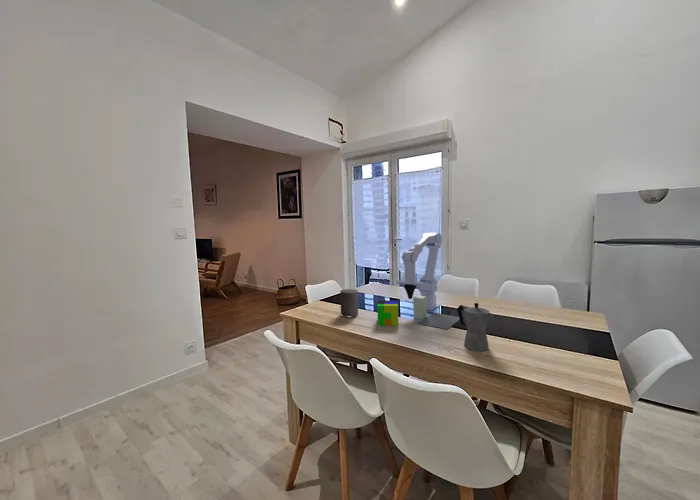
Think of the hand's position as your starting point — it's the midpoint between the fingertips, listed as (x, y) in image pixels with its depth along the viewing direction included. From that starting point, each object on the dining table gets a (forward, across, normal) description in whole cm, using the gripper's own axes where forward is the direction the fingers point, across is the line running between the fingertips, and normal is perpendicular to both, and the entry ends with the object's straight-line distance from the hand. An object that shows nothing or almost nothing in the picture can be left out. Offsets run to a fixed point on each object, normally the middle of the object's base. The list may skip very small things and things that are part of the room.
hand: (410, 298), depth 163 cm
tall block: (+9, +6, 0) cm, 11 cm away
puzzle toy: (+10, -4, -16) cm, 19 cm away
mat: (+9, +16, 0) cm, 19 cm away
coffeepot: (+10, +40, -22) cm, 46 cm away
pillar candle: (+10, -28, -17) cm, 35 cm away
